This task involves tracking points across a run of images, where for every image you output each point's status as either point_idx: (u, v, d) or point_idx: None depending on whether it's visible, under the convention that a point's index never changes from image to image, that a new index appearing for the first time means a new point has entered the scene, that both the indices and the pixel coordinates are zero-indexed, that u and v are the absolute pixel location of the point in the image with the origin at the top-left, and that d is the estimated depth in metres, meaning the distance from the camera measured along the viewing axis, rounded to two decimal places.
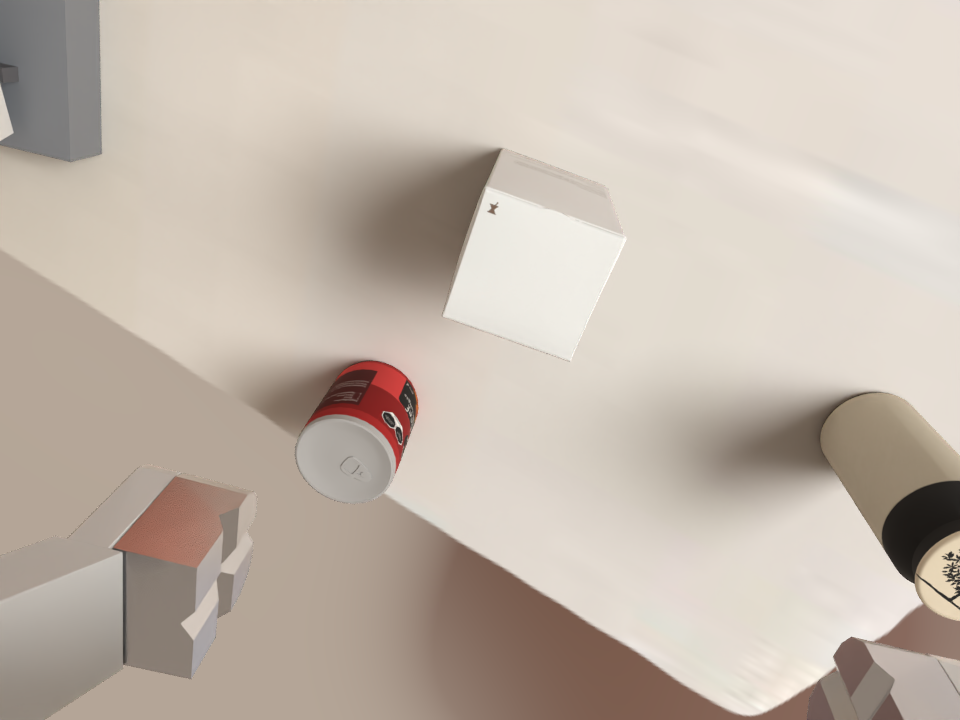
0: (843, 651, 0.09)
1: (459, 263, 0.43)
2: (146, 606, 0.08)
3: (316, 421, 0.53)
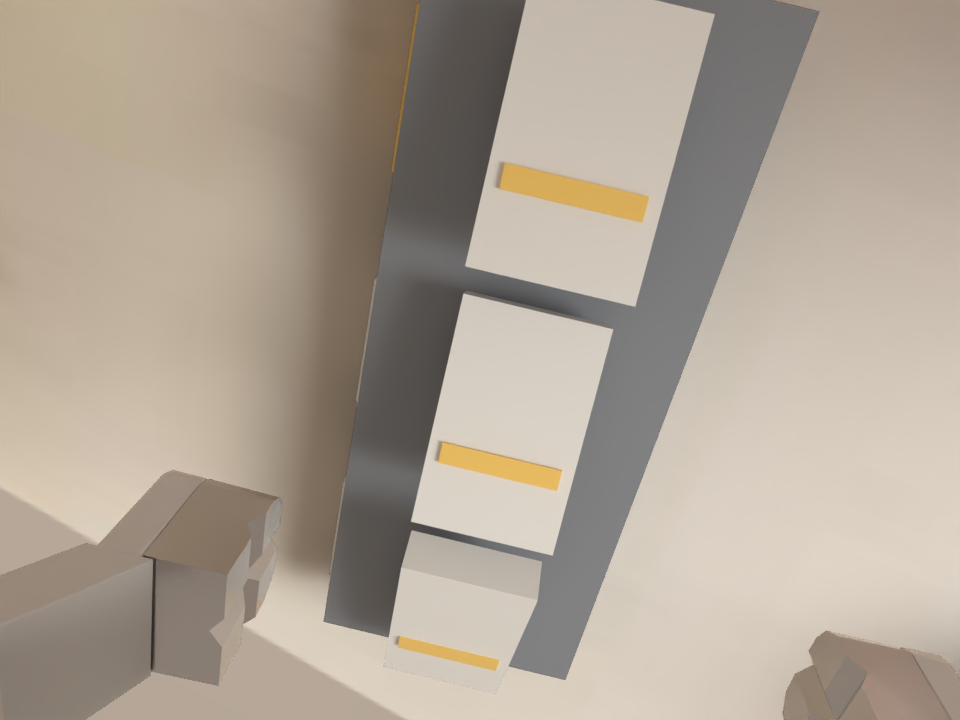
0: (818, 645, 0.09)
1: None
2: (175, 613, 0.08)
3: None
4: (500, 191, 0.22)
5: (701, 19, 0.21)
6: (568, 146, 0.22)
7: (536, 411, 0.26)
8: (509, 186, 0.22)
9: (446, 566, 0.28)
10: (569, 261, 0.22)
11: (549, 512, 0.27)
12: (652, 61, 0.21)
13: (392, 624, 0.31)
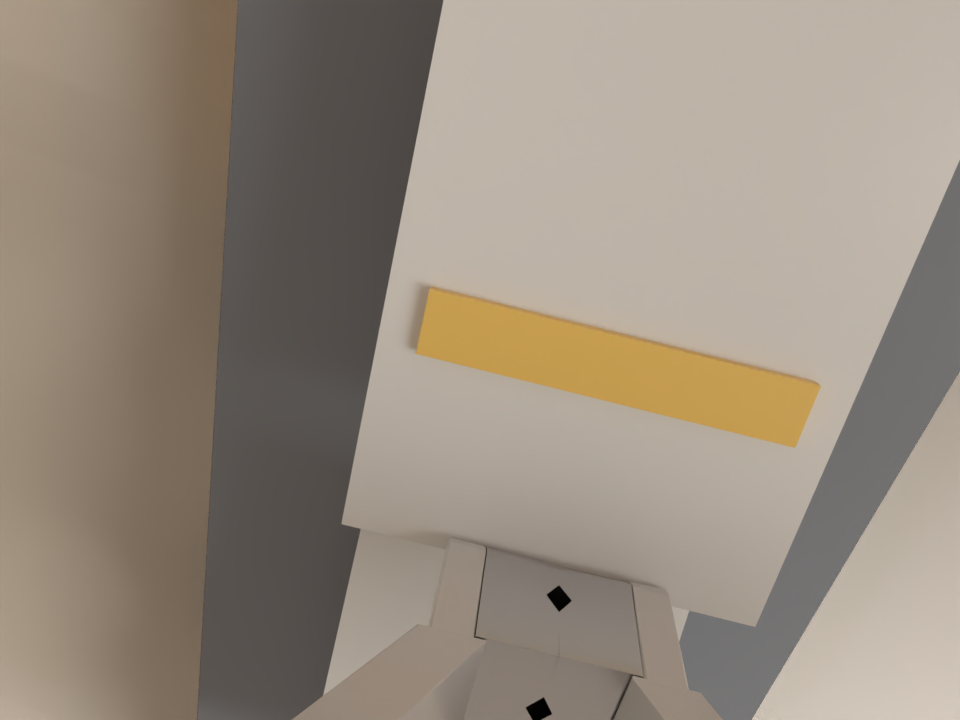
0: None
1: None
2: (494, 690, 0.08)
3: None
4: (421, 357, 0.08)
5: None
6: (604, 245, 0.08)
7: None
8: (443, 348, 0.08)
9: None
10: (598, 523, 0.09)
11: None
12: None
13: None
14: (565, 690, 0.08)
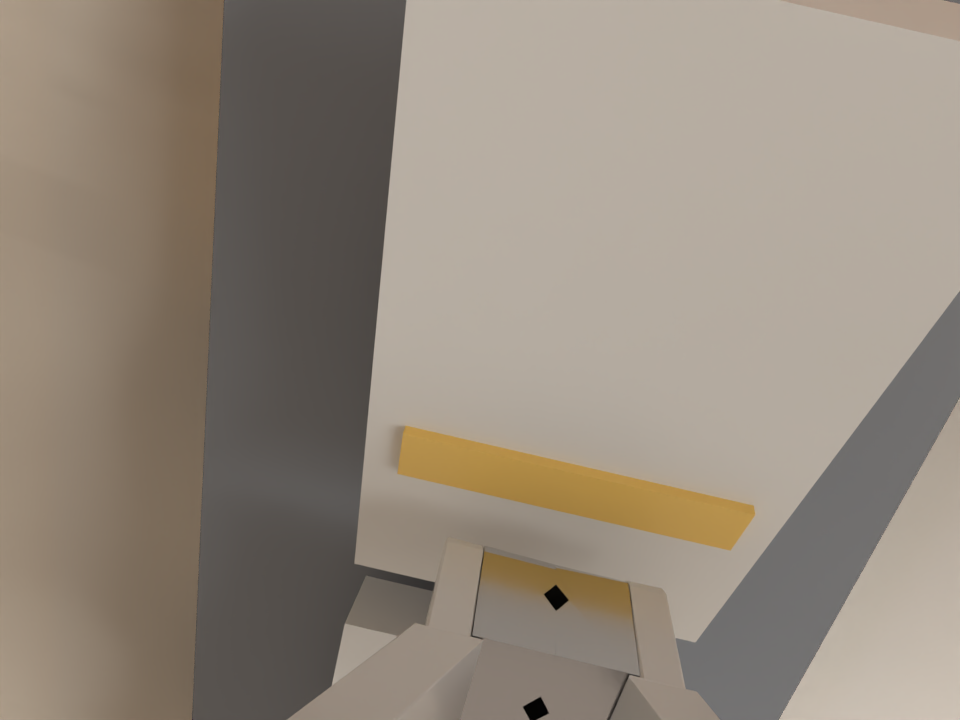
0: None
1: None
2: (491, 690, 0.08)
3: None
4: (403, 471, 0.10)
5: None
6: (558, 406, 0.08)
7: None
8: (420, 470, 0.09)
9: None
10: None
11: None
12: (829, 225, 0.07)
13: None
14: (562, 690, 0.08)
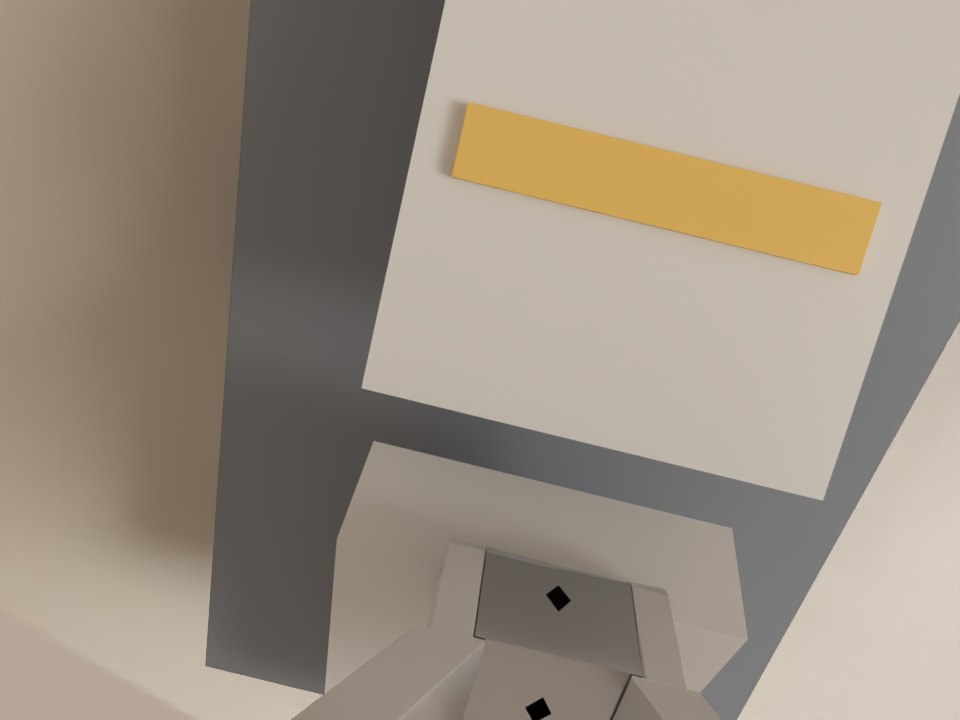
0: None
1: None
2: (493, 691, 0.08)
3: None
4: None
5: None
6: None
7: None
8: None
9: (472, 538, 0.10)
10: None
11: (822, 354, 0.08)
12: None
13: None
14: (564, 690, 0.08)
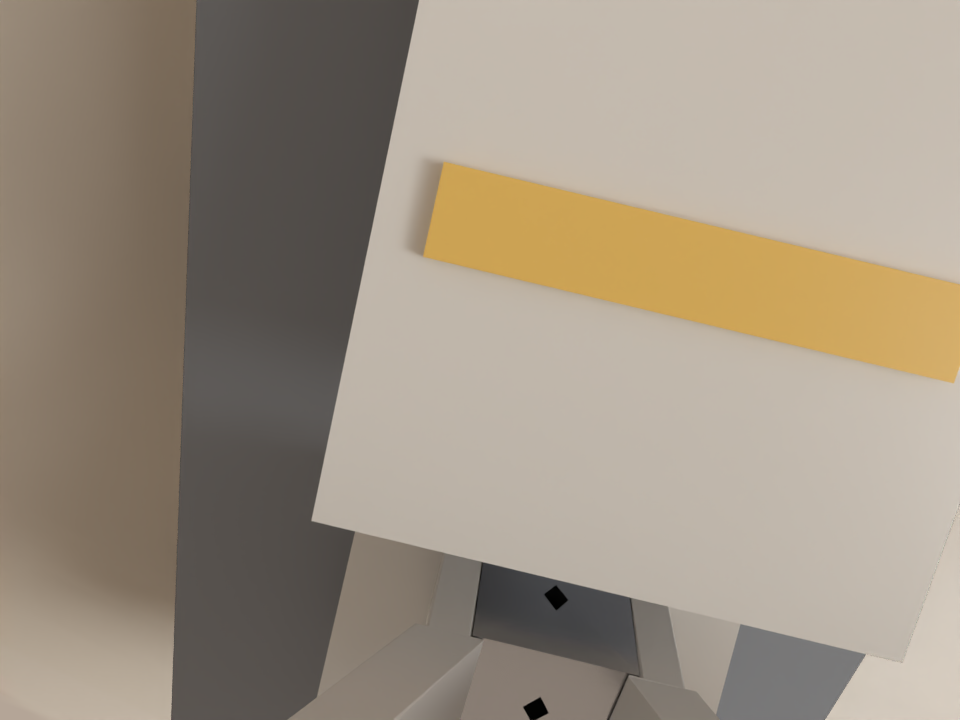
0: None
1: None
2: (491, 690, 0.08)
3: None
4: None
5: None
6: None
7: (879, 7, 0.06)
8: None
9: None
10: None
11: (903, 480, 0.06)
12: None
13: None
14: (561, 690, 0.08)
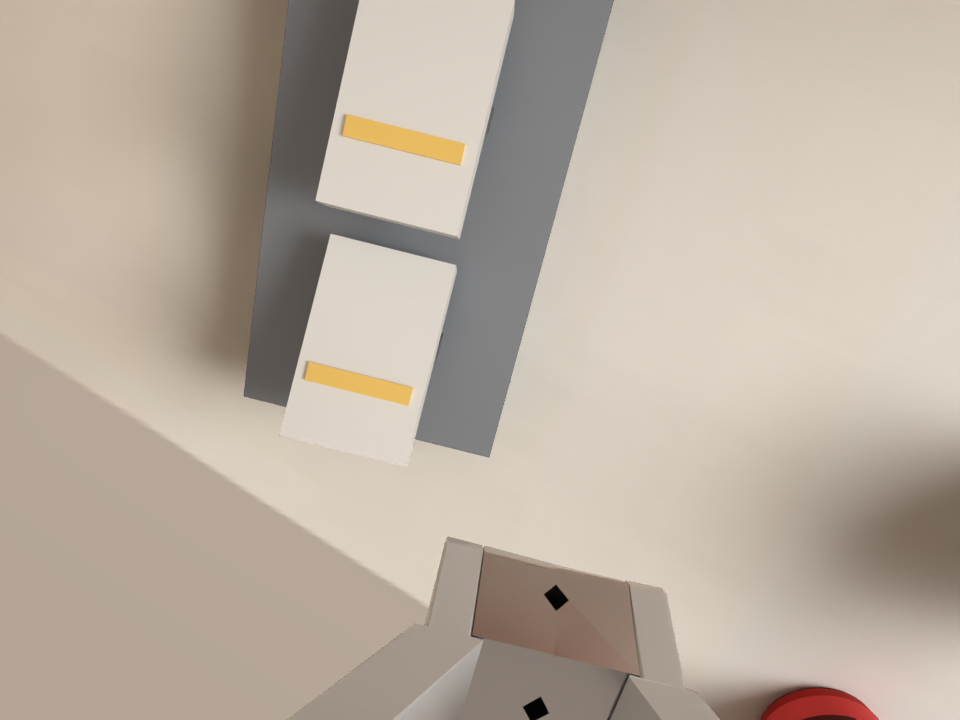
0: None
1: None
2: (491, 690, 0.08)
3: None
4: None
5: None
6: None
7: (440, 82, 0.26)
8: None
9: None
10: None
11: (453, 189, 0.27)
12: None
13: (305, 339, 0.30)
14: (562, 689, 0.08)
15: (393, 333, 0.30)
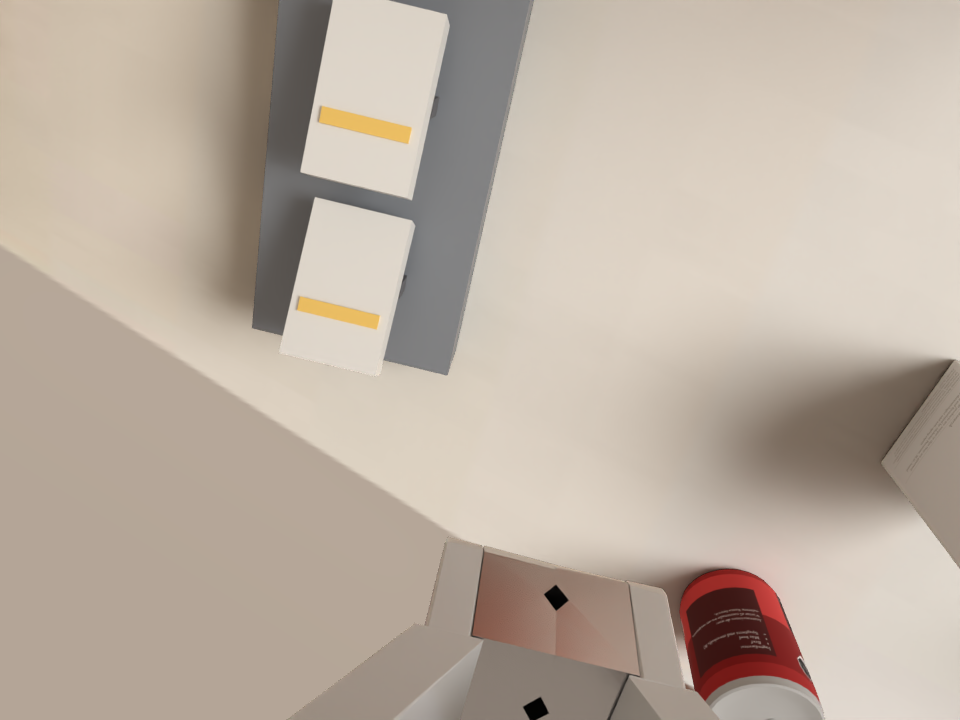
0: None
1: None
2: (490, 690, 0.08)
3: (742, 684, 0.45)
4: None
5: None
6: None
7: (391, 80, 0.35)
8: None
9: None
10: None
11: (403, 162, 0.36)
12: None
13: (296, 279, 0.40)
14: (562, 690, 0.08)
15: (364, 274, 0.40)
